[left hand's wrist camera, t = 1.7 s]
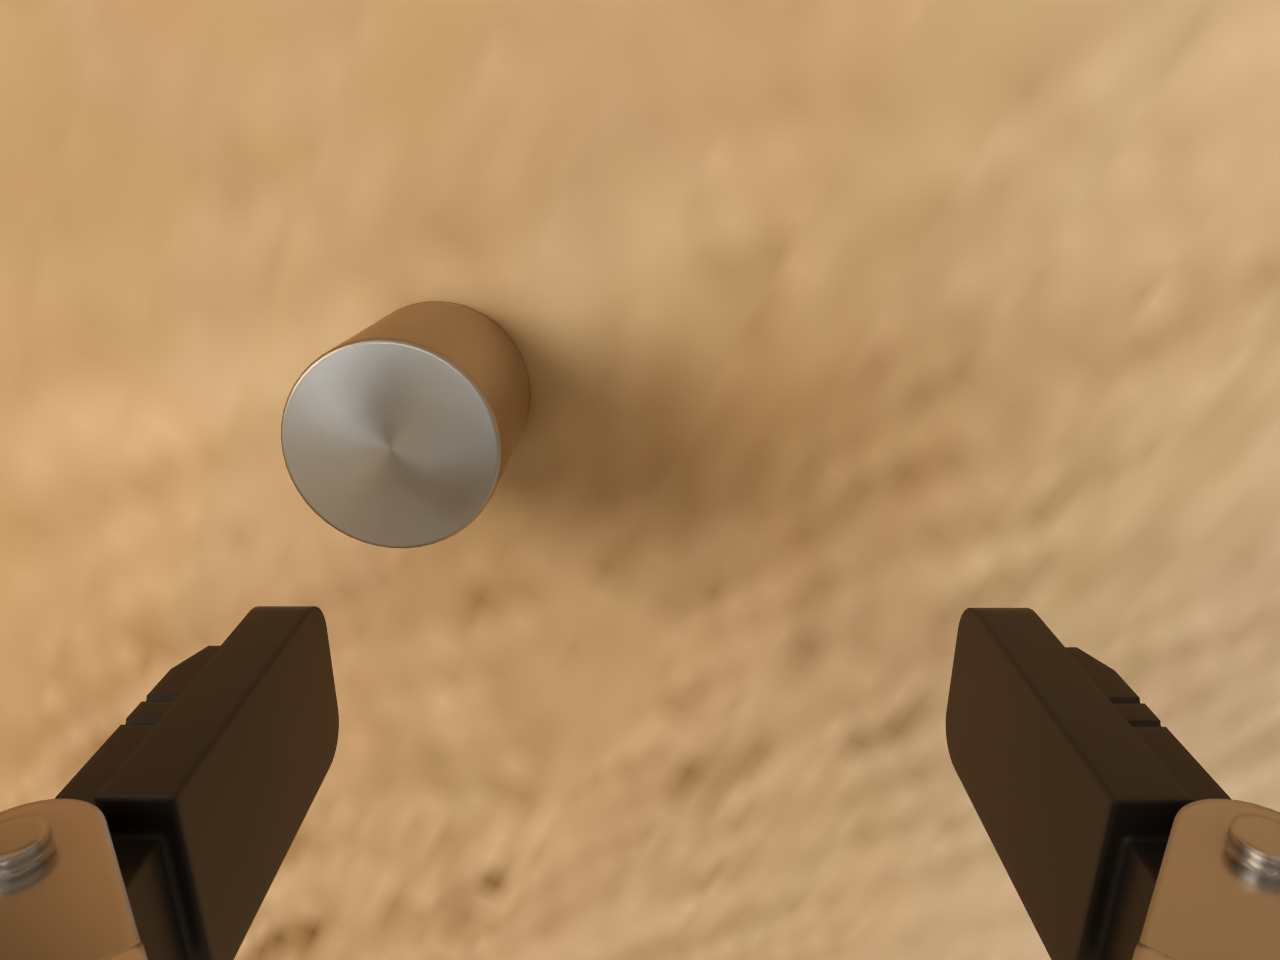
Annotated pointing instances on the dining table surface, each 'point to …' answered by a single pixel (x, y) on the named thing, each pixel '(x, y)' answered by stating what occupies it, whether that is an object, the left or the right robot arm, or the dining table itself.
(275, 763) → the left robot arm
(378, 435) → the canister
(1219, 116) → the dining table surface
